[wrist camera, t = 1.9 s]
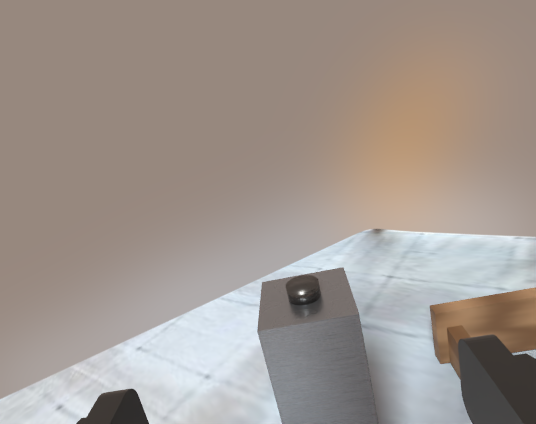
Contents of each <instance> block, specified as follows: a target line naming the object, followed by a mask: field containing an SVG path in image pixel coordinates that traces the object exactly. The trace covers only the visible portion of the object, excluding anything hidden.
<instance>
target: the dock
mask: <svg viewBox="0 0 536 424" xmlns="http://www.w3.org/2000/svg"><path fill="white" fill-rule="evenodd" d="M430 312H431V321H432V330H433V339H434V348H435V355H436V357H437V359H438V360H439V362H440V364H444V363H451V365H452V366H453V368H454V370H455V371H456V373H457V375H458V376H459V378H460V380H461V377H460V365H459V353H458V342H459V340H460V339H465V338H471V337H478V336H484V335H491V334H493V335H495V336H497V337H498V338H499V339H500V341H501V342H502V343H503V344H504V345H505V346H506V348H507V349H508V350H509V351H510V352H511V353H514V352H521V351H527V350H533V349H536V288H530V289H524V290H519V291H513V292H507V293H501V294H495V295H489V296H484V297H478V298H472V299H466V300H460V301H454V302H449V303H443V304H437V305H431V306H430Z"/></svg>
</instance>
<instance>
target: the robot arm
mask: <svg viewBox="0 0 536 424" xmlns="http://www.w3.org/2000/svg"><path fill="white" fill-rule="evenodd" d="M458 353H459V365H460V377H461V390H462V396H463V401H464V404H465V407H466V410H467V413H468V415H469V417H470V420H471V422H472V423H473V424H536V359H535V358H533V357H531V356H529V355H528V354H520V355H514V356H513V355H512V353H511V352H510V351H509V350H508V349H507V348H506V346H505V345H504V344H503V343H502V342H501V341H500V339H499V338H498V337H497V336H495V335H493V334H491V335H484V336H478V337H471V338H465V339H460V340H459V342H458ZM76 424H149V422H148V420H147V417H146V415H145V412H144V409H143V407H142V404H141V401H140V399H139V396H138V394H137V392H136V391H135V390H134V389H126V390H120V391H113V392H106V393H103V394H101V395H100V396H99V397H98V399H97V401H96V402H95V404H94V406H93V407H92V409H91V411H90V412H89V414H88V416H87V418H81V419H80V420H79V421H78V422H77V423H76Z"/></svg>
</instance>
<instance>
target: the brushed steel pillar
mask: <svg viewBox="0 0 536 424" xmlns="http://www.w3.org/2000/svg"><path fill="white" fill-rule="evenodd" d="M258 335H259V339H260V343H261V346H262V350H263V354H264V357H265V361H266V365H267V369H268V372H269V376H270V380H271V383H272V387H273V391H274V395H275V398H276V402H277V406H278V409H279V413H280V417H281V421H282V424H378V420H377V414H376V408H375V403H374V397H373V391H372V385H371V380H370V374H369V368H368V363H367V357H366V351H365V346H364V340H363V334H362V328H361V323H360V317H359V312H358V309H357V306H356V304H355V301H354V298H353V295H352V292H351V289H350V286H349V283H348V280H347V277H346V274H345V271H344V268H337V269H332V270H326V271H321V272H316V273H310V274H305V275H299V276H294V277H288V278H283V279H278V280H272V281H267V282H262V290H261V300H260V310H259V321H258Z"/></svg>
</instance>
